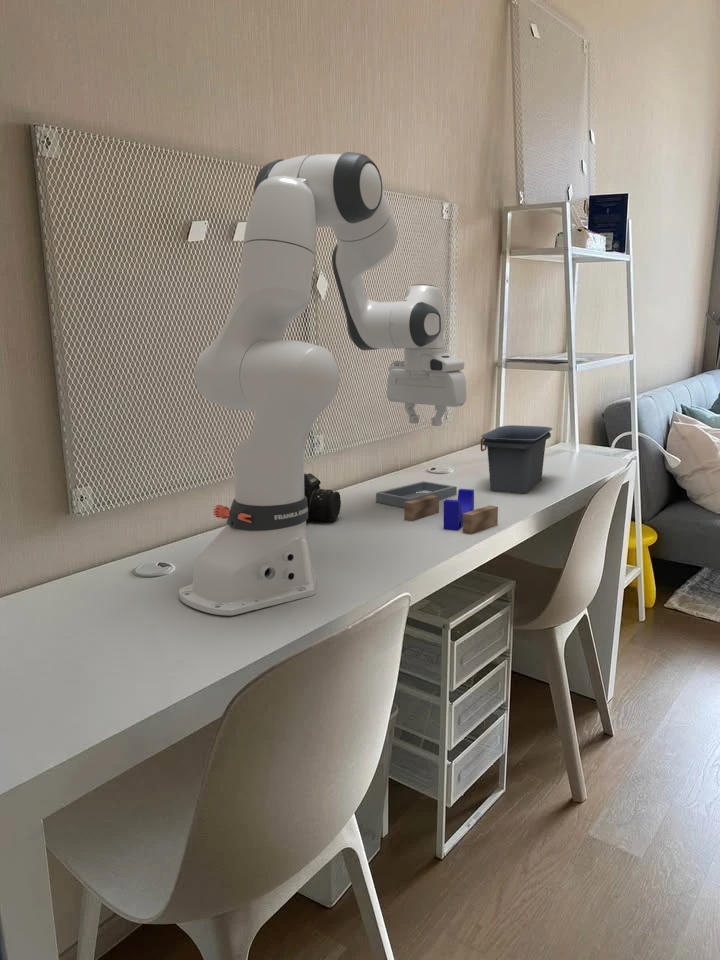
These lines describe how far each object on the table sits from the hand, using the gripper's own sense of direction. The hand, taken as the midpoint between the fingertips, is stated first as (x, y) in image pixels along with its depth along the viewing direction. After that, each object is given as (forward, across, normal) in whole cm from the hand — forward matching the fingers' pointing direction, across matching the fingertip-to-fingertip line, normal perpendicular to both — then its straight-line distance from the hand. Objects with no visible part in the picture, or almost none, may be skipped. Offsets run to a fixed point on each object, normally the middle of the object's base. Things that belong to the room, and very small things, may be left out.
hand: (425, 424), depth 167 cm
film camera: (+18, -8, -27) cm, 34 cm away
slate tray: (+18, -4, +1) cm, 18 cm away
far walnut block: (+18, +7, -10) cm, 22 cm away
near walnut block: (+18, +22, -10) cm, 30 cm away
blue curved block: (+18, +15, -9) cm, 25 cm away
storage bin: (+19, +6, +26) cm, 33 cm away
